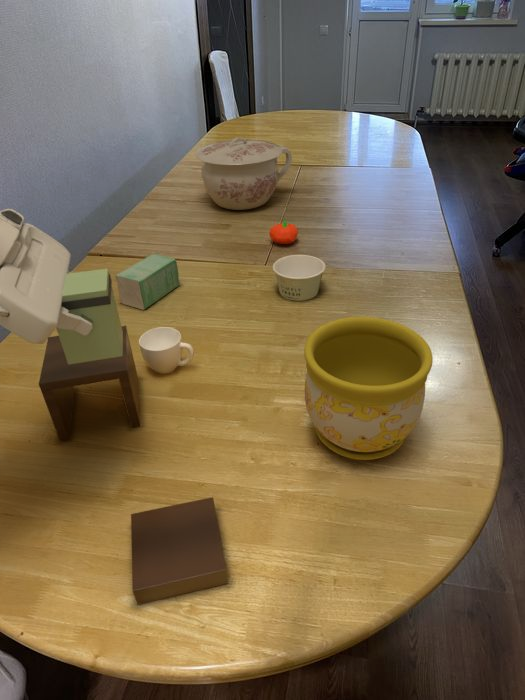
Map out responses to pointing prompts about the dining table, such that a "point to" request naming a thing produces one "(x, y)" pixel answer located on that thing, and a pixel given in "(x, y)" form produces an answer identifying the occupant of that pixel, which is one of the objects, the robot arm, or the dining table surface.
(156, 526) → the brown square tile
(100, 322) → the block
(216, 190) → the chamber pot
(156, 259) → the box
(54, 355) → the wooden stool
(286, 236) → the pumpkin
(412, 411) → the flowerpot
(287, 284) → the food container
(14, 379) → the dining table surface
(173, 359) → the cup
